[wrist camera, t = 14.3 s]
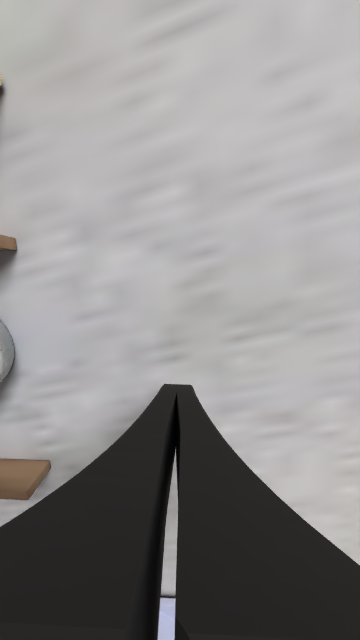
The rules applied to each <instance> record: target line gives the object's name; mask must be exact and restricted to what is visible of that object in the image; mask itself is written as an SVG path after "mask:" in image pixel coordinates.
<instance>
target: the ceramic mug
mask: <svg viewBox="0 0 360 640" xmlns="http://www.w3.org/2000/svg"><path fill="white" fill-rule="evenodd" d="M14 355H15V354H14V345H13V341H12V338H11V336H10V333H9V331H8V329H7V328H6V326H5V325H4V324H3V323H2V322H1V321H0V382H1V381H2V380H3V379H4V378H5V377H6V375H7V374H8V372H9V370H10V369H11V366H12V364H13V360H14Z"/></svg>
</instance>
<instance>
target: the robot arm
mask: <svg viewBox="0 0 360 640" xmlns="http://www.w3.org/2000/svg"><path fill="white" fill-rule="evenodd" d="M175 449H176V462H177V486H178V536H177V568H176V598H160V596H161V582H162V567H163V553H164V538H165V524H166V515H167V506H168V499H169V492H170V485H171V478H172V470H173V463H174V456H175ZM0 640H360V565H358V564H357V563H356V562H355V561H353V560H352V559H351V558H350V557H349V556H347V555H346V554H345V553H344V552H342V551H341V550H340V549H339V548H338V547H336V546H335V545H334V544H333V543H331V542H330V541H329V540H328V539H326V538H325V537H324V536H323V535H322V534H320V533H319V532H318V531H317V530H315V529H314V528H313V527H312V526H311V525H309V524H308V523H307V522H306V521H305V520H304V519H302V518H301V517H300V516H299V515H298V514H297V513H296V512H295V511H293V510H292V509H291V508H290V507H289V506H288V505H287V504H286V503H285V502H283V501H282V500H281V499H280V498H279V497H278V496H277V495H276V494H275V493H274V492H273V491H272V490H271V489H270V488H269V487H268V486H267V485H266V484H265V483H264V482H263V481H262V480H261V479H260V478H259V477H258V476H257V475H256V474H255V473H254V472H253V471H252V470H251V469H250V468H249V467H248V466H247V465H246V464H245V463H244V462H243V461H242V459H241V458H240V457H239V456H238V455H237V454H236V453H235V452H234V450H233V449H232V448H231V447H230V446H229V444H228V443H227V442H226V441H225V439H224V438H223V437H222V435H221V434H220V433H219V431H218V430H217V429H216V427H215V426H214V424H213V423H212V421H211V420H210V418H209V417H208V415H207V414H206V412H205V410H204V409H203V407H202V405H201V404H200V402H199V400H198V398H197V396H196V394H195V392H194V389H193V387H192V386H191V385H178V384H164V385H163V386H162V387H161V389H160V390H159V392H158V393H157V395H156V396H155V398H154V399H153V400H152V402H151V403H150V404H149V406H148V407H147V408H146V409H145V411H144V412H143V413H142V414H141V415H140V417H139V418H138V419H137V420H136V421H135V422H134V423H133V424H132V426H131V427H130V428H129V429H128V430H127V431H126V432H125V433H124V434H123V435H122V436H121V437H120V438H119V439H118V440H117V441H116V442H115V443H114V444H113V445H111V446H110V447H109V448H108V449H107V450H106V451H105V452H104V453H102V454H101V455H100V456H99V457H98V458H97V459H95V460H94V461H93V462H92V463H91V464H89V465H88V466H87V467H86V468H85V469H83V470H82V471H81V472H80V473H78V474H77V475H76V476H74V477H73V478H72V479H70V480H69V481H68V482H66V483H65V484H63V485H62V486H61V487H59V488H58V489H57V490H55V491H54V492H52V493H51V494H50V495H48V496H47V497H45V498H44V499H42V500H41V501H40V502H38V503H37V504H35V505H34V506H32V507H31V508H29V509H28V510H26V511H25V512H23V513H22V514H20V515H19V516H17V517H15V518H14V519H12V520H11V521H9V522H7V523H6V524H4V525H3V526H1V527H0Z"/></svg>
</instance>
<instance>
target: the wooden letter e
mask: <svg viewBox="0 0 360 640" xmlns="http://www.w3.org/2000/svg"><path fill="white" fill-rule="evenodd" d="M0 250H17V247H16V240H15V238H12V237H8V236H3V235H0ZM50 468H51V465H50V461H42V460H17V459H0V499H15V500H28V499H29V498H30V496H31V495H32V494H33V492H34V491H35V489H36V488H37V487H38V485H39V484H40V482H41V481H42V480H43V478H44V477H45V475H46V474H47V473H48V471H49V470H50Z"/></svg>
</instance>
